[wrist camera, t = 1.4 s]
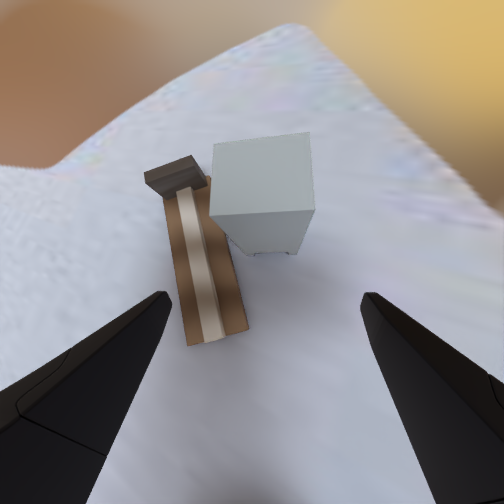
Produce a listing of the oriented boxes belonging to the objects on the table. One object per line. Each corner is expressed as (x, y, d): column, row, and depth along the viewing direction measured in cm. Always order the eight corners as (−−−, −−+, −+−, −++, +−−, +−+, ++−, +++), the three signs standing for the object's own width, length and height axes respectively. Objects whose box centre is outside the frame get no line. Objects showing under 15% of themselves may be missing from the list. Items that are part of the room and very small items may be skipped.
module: (297, 254, 21) (315, 209, 10) (246, 255, 22) (209, 215, 11) (295, 214, 22) (309, 131, 11) (247, 217, 23) (213, 143, 12)
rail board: (249, 328, 20) (239, 339, 16) (191, 343, 21) (165, 359, 16) (211, 179, 25) (195, 153, 21) (166, 195, 26) (140, 173, 21)
